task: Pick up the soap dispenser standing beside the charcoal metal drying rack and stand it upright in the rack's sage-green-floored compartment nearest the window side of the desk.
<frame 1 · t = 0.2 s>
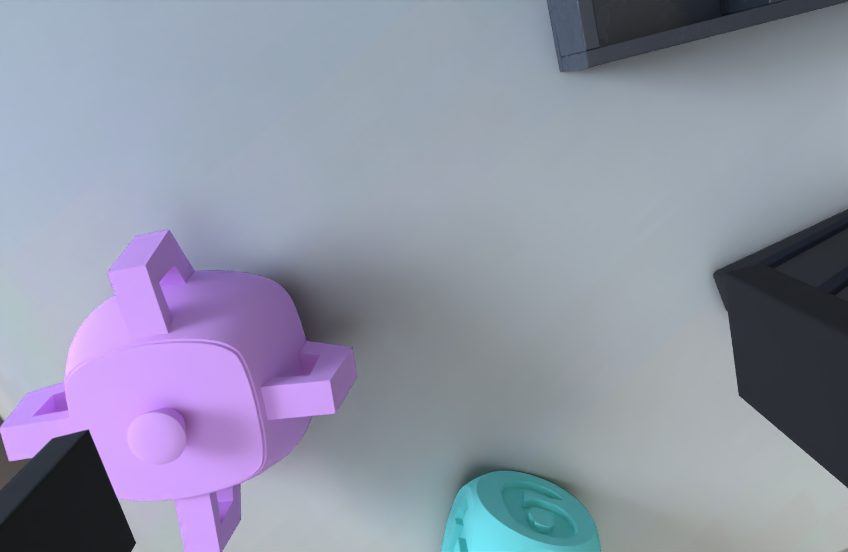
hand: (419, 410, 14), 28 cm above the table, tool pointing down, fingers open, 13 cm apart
pot: (218, 349, 43), on the table
black ridged block: (811, 247, 43), on the table
decorative dice: (505, 519, 47), on the table
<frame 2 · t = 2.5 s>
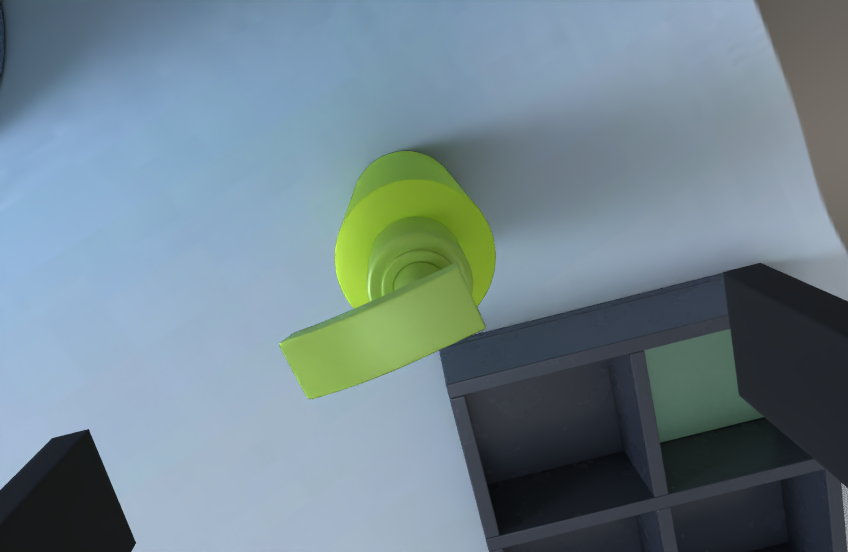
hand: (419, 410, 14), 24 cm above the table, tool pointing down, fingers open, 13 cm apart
soap dispenser: (397, 208, 37), on the table
rack: (626, 448, 42), on the table
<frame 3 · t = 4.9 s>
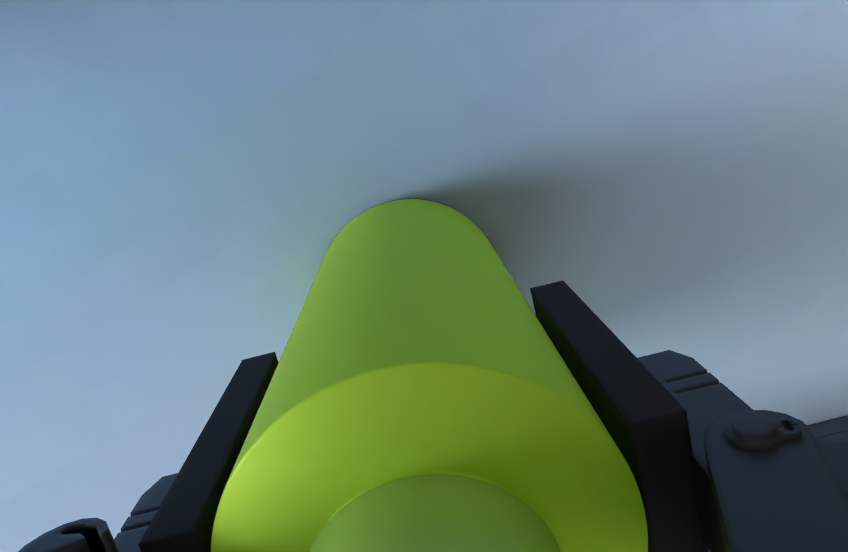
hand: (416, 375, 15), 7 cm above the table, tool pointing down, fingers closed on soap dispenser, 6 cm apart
soap dispenser: (396, 294, 22), on the table, touching gripper
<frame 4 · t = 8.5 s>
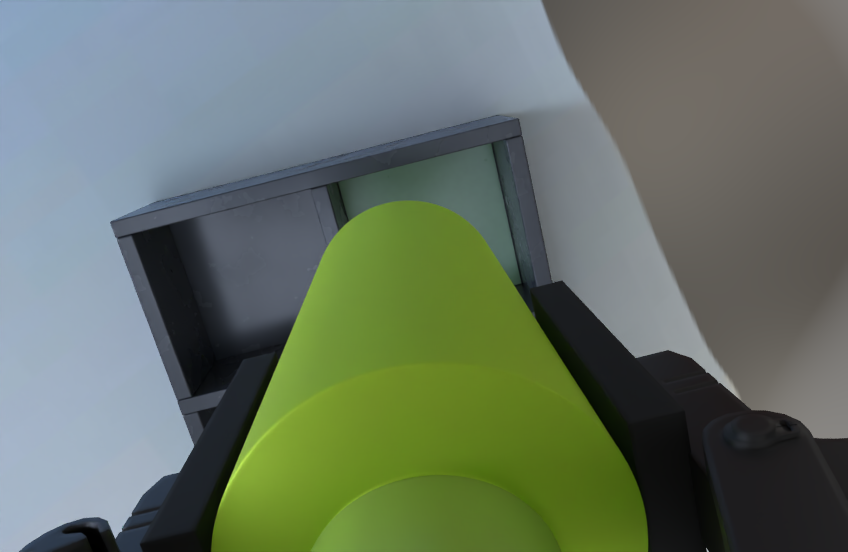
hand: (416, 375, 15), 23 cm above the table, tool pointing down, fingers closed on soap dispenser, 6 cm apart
soap dispenser: (393, 295, 22), point 16 cm above the table, touching gripper
rack: (371, 323, 39), on the table
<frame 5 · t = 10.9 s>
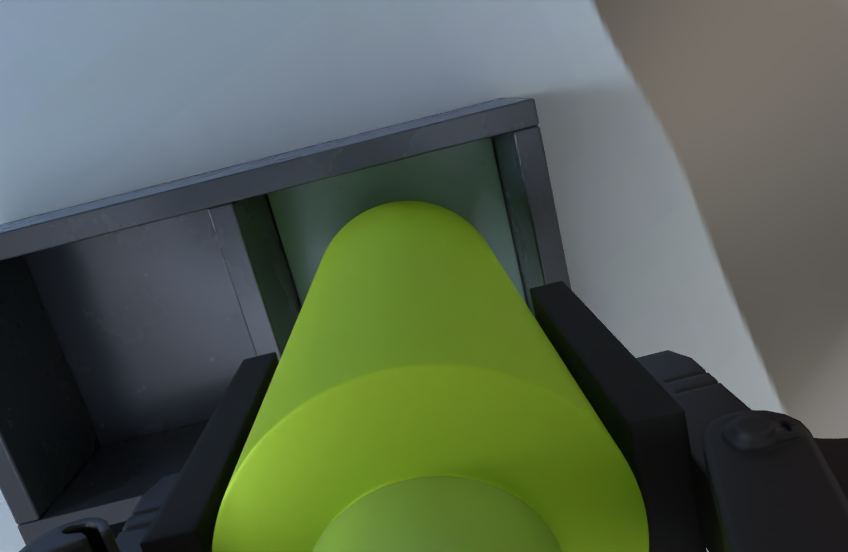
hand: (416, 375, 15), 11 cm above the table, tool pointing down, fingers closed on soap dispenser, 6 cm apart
soap dispenser: (393, 296, 22), point 5 cm above the table, touching gripper
rack: (321, 392, 28), on the table
when the fingers open (7 cm above the table, at t = 12.3 s): soap dispenser stays where it is, resting on rack.
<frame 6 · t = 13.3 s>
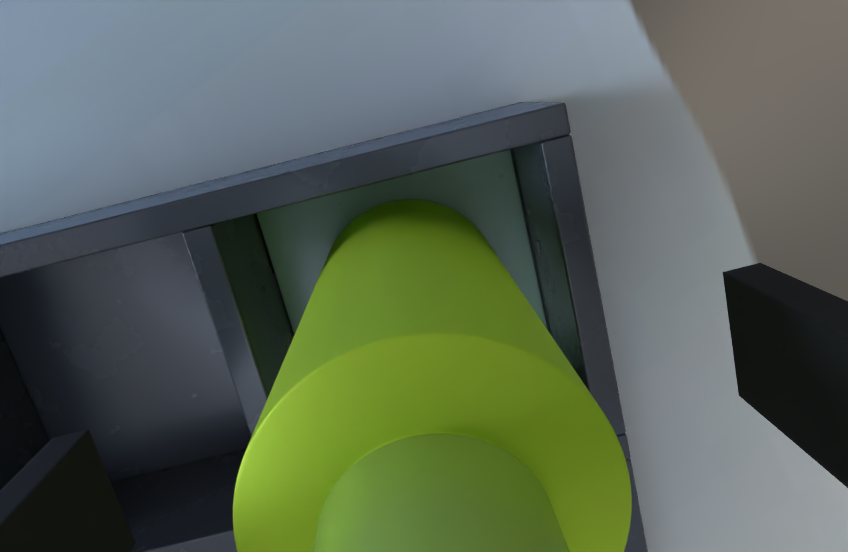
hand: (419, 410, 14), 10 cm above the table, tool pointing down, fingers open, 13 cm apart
soap dispenser: (396, 291, 23), point 1 cm above the table, touching rack
rack: (318, 431, 25), on the table
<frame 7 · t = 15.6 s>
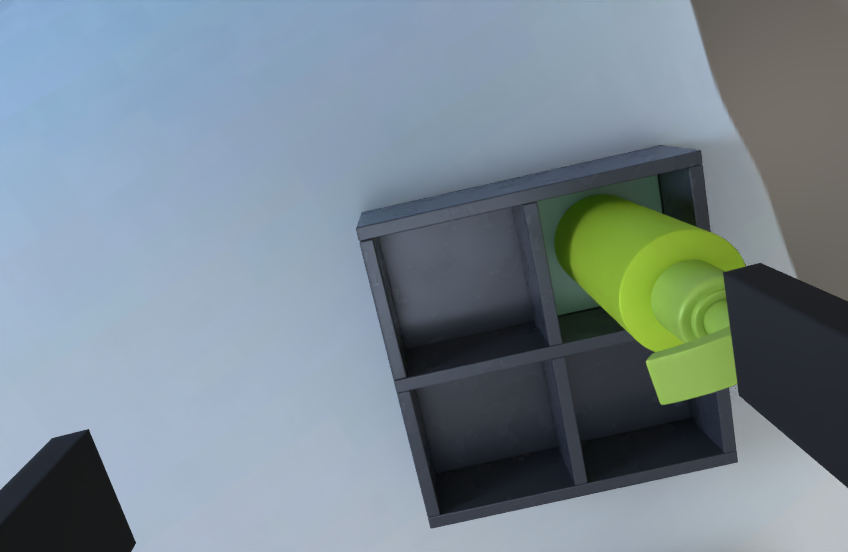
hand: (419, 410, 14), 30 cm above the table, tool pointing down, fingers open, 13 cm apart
soap dispenser: (591, 242, 43), point 1 cm above the table, touching rack
rack: (537, 321, 45), on the table
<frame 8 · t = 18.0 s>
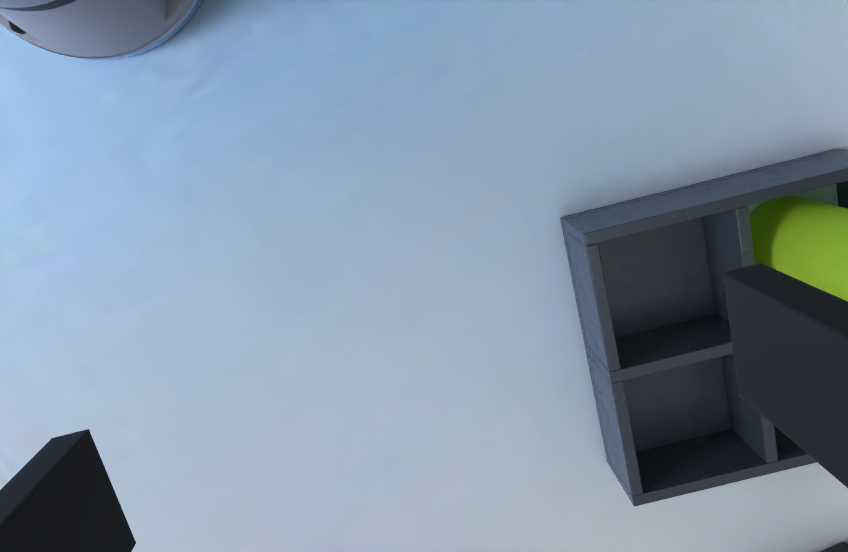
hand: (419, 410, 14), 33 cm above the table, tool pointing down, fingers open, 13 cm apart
soap dispenser: (772, 240, 46), point 1 cm above the table, touching rack
rack: (715, 313, 49), on the table
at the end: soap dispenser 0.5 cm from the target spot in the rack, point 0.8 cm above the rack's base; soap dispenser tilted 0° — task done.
